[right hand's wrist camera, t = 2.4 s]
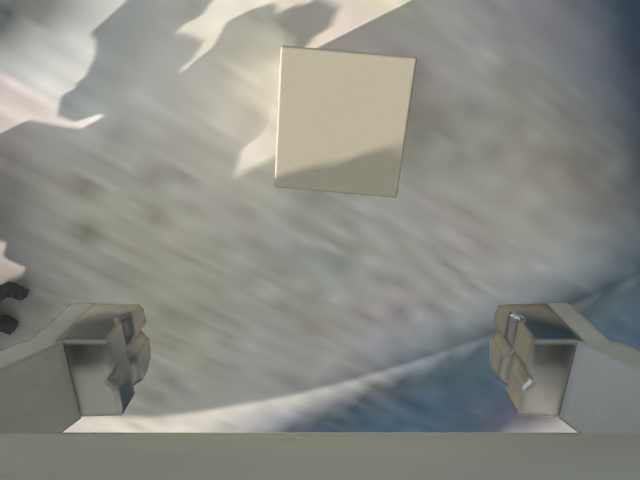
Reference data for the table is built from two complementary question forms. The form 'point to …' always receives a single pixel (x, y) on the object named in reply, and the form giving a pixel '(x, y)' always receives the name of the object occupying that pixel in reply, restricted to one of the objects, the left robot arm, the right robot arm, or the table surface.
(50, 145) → the table surface
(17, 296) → the toy
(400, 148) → the brick
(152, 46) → the table surface
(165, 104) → the table surface
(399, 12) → the table surface
